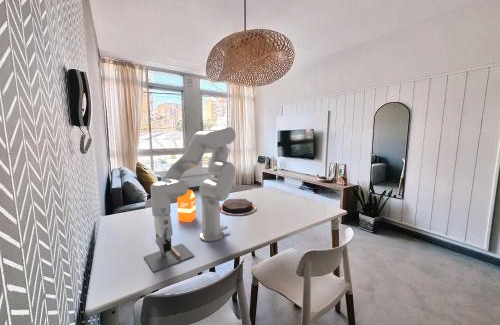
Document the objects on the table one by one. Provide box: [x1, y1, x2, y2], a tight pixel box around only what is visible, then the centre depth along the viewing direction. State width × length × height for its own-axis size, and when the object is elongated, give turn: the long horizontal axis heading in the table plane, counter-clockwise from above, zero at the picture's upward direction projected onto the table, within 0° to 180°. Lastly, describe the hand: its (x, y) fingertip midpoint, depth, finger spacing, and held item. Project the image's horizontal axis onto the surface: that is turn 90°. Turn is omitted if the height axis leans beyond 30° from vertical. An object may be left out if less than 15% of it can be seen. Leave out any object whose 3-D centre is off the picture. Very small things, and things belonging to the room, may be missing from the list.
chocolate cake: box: [220, 198, 257, 216], centre depth 161 cm, size 28×28×7 cm
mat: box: [143, 243, 195, 274], centre depth 98 cm, size 18×14×1 cm
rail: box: [170, 244, 181, 260], centre depth 101 cm, size 1×13×2 cm, turn 41°
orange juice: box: [176, 189, 197, 223], centre depth 140 cm, size 8×9×20 cm
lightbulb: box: [154, 235, 167, 256], centre depth 98 cm, size 6×6×11 cm
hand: (163, 246), depth 97 cm, fingers open, 9 cm apart
